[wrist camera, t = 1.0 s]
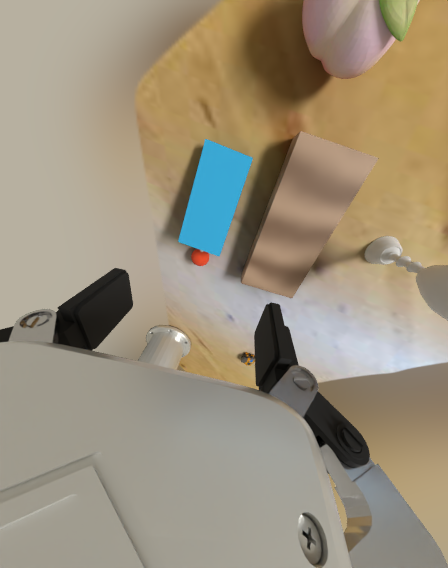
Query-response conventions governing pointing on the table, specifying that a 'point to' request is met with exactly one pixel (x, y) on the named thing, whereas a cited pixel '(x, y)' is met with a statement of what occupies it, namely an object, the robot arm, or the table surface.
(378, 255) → the chalice
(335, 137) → the table surface
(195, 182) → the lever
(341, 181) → the walnut riser block
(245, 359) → the toy set
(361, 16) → the decorative fruit
